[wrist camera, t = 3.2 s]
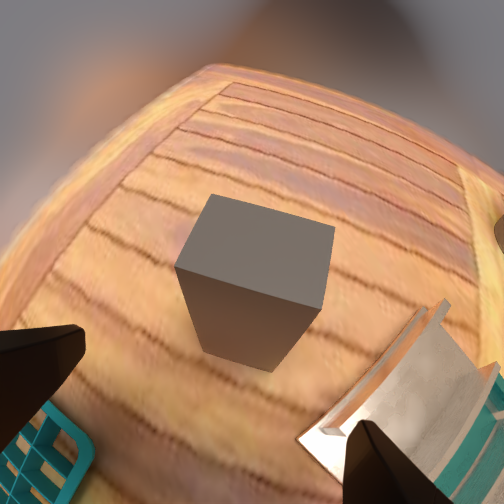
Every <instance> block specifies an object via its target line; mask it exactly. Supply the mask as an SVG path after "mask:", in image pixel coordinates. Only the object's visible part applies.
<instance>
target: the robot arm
mask: <svg viewBox="0 0 504 504" xmlns="http://www.w3.org/2000/svg"><path fill="white" fill-rule="evenodd" d="M85 351H86V343H85V331H84V329H83V328H81V327H79V326H77V325H75V324H71V325H62V326H52V327H42V328H31V329H19V330H7V331H0V454H1V453H2V452H3V451H4V449H5V448H6V447H7V446H8V445H9V444H10V442H11V441H12V440H13V439H14V438H15V437H16V435H17V434H18V433H19V432H20V431H21V430H22V428H23V427H24V426H25V425H26V424H27V423H28V422H29V421H30V419H31V418H32V417H33V416H34V415H35V414H36V413H37V412H38V411H39V409H40V408H41V407H42V406H43V405H44V404H45V403H46V402H47V401H48V400H49V398H50V397H51V396H52V395H53V394H54V393H55V392H56V391H57V390H58V389H59V388H60V386H61V385H62V384H63V383H64V381H65V380H66V379H67V377H68V376H69V375H70V373H71V372H72V371H73V369H74V368H75V367H76V365H77V364H78V363H79V361H80V360H81V359H82V357H83V356H84V354H85ZM343 504H454V503H453V502H452V501H451V500H450V499H449V498H448V497H447V496H446V495H445V494H444V493H443V492H442V491H441V490H440V489H439V488H437V487H436V485H435V484H434V483H433V482H432V481H431V480H430V479H429V478H428V477H427V476H426V475H425V474H424V473H423V472H422V471H421V470H420V469H419V468H418V467H417V466H416V465H415V464H414V463H413V462H412V461H411V460H410V459H409V458H408V457H407V456H406V455H405V454H404V453H403V452H402V451H401V450H400V449H399V448H398V447H397V446H396V444H395V443H394V442H393V441H392V440H391V439H390V438H389V437H388V436H387V435H386V434H385V433H384V432H383V431H382V430H381V429H380V428H379V427H378V426H377V424H376V423H375V422H374V421H372V420H364V419H362V420H359V421H358V423H357V424H356V426H355V427H354V429H353V430H352V432H351V433H350V435H349V436H348V438H347V442H346V452H345V463H344V473H343Z"/></svg>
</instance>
